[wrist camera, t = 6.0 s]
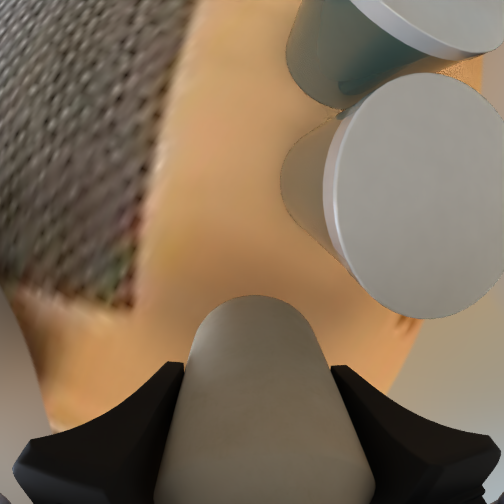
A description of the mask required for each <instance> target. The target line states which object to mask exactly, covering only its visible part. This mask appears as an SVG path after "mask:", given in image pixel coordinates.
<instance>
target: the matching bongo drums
mask: <svg viewBox="0 0 504 504" xmlns="http://www.w3.org/2000/svg"><path fill="white" fill-rule="evenodd" d="M503 41H504V0H302V1H301V4H300V7H299V9H298V12H297V15H296V18H295V21H294V23H293V26H292V29H291V32H290V35H289V38H288V41H287V45H286V61H287V65H288V68H289V71H290V73H291V75H292V77H293V79H294V80H295V82H296V83H297V84H298V85H299V87H300V88H301V89H302V90H303V91H304V92H305V93H306V94H308V95H309V96H310V97H312V98H313V99H315V100H316V101H318V102H320V103H322V104H324V105H326V106H330V107H333V108H337V109H344V111H342V112H341V113H339V114H337V115H336V116H334V117H333V118H331V119H329V120H328V121H326V122H325V123H323V124H321V125H320V126H318V127H317V128H315V129H314V130H312V131H310V132H309V133H307V134H306V135H304V136H303V137H302V138H300V139H299V140H298V141H297V142H296V143H295V144H294V145H293V146H292V148H291V149H290V150H289V152H288V154H287V156H286V158H285V160H284V163H283V166H282V170H281V176H280V188H281V195H282V198H283V202H284V204H285V207H286V209H287V211H288V212H289V214H290V216H291V217H292V218H293V220H294V221H295V222H296V223H297V224H298V225H299V226H300V227H301V228H302V229H303V230H304V231H305V232H307V233H308V234H309V235H310V236H311V237H312V238H313V239H314V240H315V241H316V242H318V243H319V244H320V245H321V246H322V247H323V248H324V249H325V250H326V251H327V252H328V253H329V254H330V255H332V256H333V257H334V258H335V259H336V260H337V261H338V262H339V263H340V264H341V265H342V266H343V267H344V268H345V269H346V270H347V271H348V272H349V274H350V275H351V276H352V277H353V278H354V279H355V280H356V282H357V283H358V284H359V285H360V286H361V287H362V288H363V289H364V290H365V291H366V292H367V293H368V294H369V295H370V296H371V297H373V298H374V299H375V300H376V301H378V302H379V303H380V304H381V305H383V306H384V307H386V308H388V309H389V310H391V311H393V312H395V313H398V314H401V315H403V316H406V317H411V318H417V319H436V318H442V317H446V316H450V315H453V314H456V313H458V312H460V311H462V310H464V309H466V308H468V307H469V306H471V305H472V304H474V303H475V302H477V301H478V300H479V299H480V298H482V296H484V295H485V294H486V293H487V292H488V291H489V290H490V289H491V288H492V287H493V286H494V284H495V283H496V282H497V281H498V279H499V278H500V277H501V275H502V273H503V272H504V121H503V119H502V118H501V117H500V116H499V114H498V113H497V111H496V110H495V109H494V108H493V106H492V105H491V104H490V103H489V102H488V101H487V100H486V99H485V98H484V97H483V96H482V95H481V94H479V93H478V92H477V91H476V90H474V89H473V88H471V87H470V86H468V85H467V84H465V83H463V82H461V81H459V80H457V79H454V78H452V77H449V76H445V75H441V74H436V73H437V72H439V71H441V70H443V69H446V68H448V67H450V66H452V65H455V64H457V63H459V62H462V61H464V60H470V59H473V58H475V57H478V56H480V55H483V54H485V53H488V52H490V51H493V50H495V49H496V48H498V47H499V46H500V45H501V44H502V43H503Z"/></svg>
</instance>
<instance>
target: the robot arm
mask: <svg viewBox="0 0 504 504" xmlns="http://www.w3.org/2000/svg"><path fill="white" fill-rule="evenodd" d="M330 371H331V374H332V376H333V378H334V381H335V383H336V385H337V388H338V390H339V393H340V395H341V397H342V400H343V402H344V405H345V407H346V409H347V412H348V414H349V417H350V419H351V421H352V424H353V426H354V429H355V431H356V434H357V436H358V439H359V441H360V444H361V446H362V448H363V451H364V453H365V456H366V458H367V461H368V463H369V466H370V469H371V471H372V474H373V476H374V479H375V487H376V488H375V492H374V496H373V498H372V500H371V502H370V503H369V504H487V503H486V502H485V500H484V499H483V497H482V495H483V494H484V493H485V489H484V488H483V486H482V484H483V483H484V481H485V480H486V479H487V478H488V476H489V475H490V474H491V472H492V471H493V470H494V468H495V467H496V465H497V463H498V461H499V459H500V456H501V450H500V449H499V448H498V446H497V445H496V444H495V443H494V441H493V440H492V439H491V438H490V436H488V435H482V434H476V433H470V432H465V431H461V430H457V429H453V428H450V427H446V426H443V425H440V424H438V423H435V422H433V421H430V420H427V419H425V418H423V417H421V416H419V415H417V414H415V413H413V412H411V411H409V410H407V409H406V408H404V407H402V406H401V405H399V404H397V403H396V402H394V401H393V400H391V399H390V398H388V397H387V396H385V395H384V394H383V393H381V392H380V391H378V390H377V389H376V388H375V387H373V386H372V385H371V384H369V383H368V382H367V381H366V380H364V379H363V378H362V377H361V376H359V375H358V374H357V373H356V372H355V371H353V370H352V369H351V368H349V367H348V366H347V365H337V366H331V369H330ZM183 376H184V363H180V362H169V361H168V362H166V363H165V364H164V365H163V366H162V367H161V368H160V369H159V370H158V371H157V372H156V373H155V374H154V375H153V376H152V377H151V378H150V379H149V380H148V381H147V382H146V383H145V384H144V385H142V386H141V387H140V388H139V389H138V390H137V391H136V392H134V393H133V394H132V395H131V396H129V397H128V398H127V399H126V400H124V401H123V402H122V403H120V404H119V405H118V406H116V407H115V408H113V409H111V410H110V411H108V412H106V413H105V414H103V415H101V416H99V417H97V418H95V419H93V420H91V421H89V422H87V423H85V424H83V425H80V426H78V427H75V428H72V429H70V430H67V431H64V432H61V433H57V434H53V435H49V436H45V437H40V438H36V439H31V440H30V441H29V442H28V444H27V445H26V447H25V448H24V450H23V451H22V453H21V454H20V456H19V457H18V459H17V460H16V462H15V464H14V466H13V468H12V470H13V474H14V477H15V478H16V480H17V482H18V483H19V485H20V486H21V488H22V489H23V490H24V492H25V493H26V494H27V496H28V497H29V498H30V499H31V501H32V502H33V503H34V504H154V500H153V497H154V490H155V485H156V481H157V477H158V473H159V468H160V464H161V460H162V456H163V452H164V448H165V444H166V440H167V436H168V432H169V429H170V425H171V421H172V417H173V413H174V409H175V406H176V402H177V398H178V394H179V391H180V387H181V383H182V379H183ZM0 504H11V503H10V501H9V500H8V499H7V498H6V497H5V496H3V495H2V494H1V493H0ZM491 504H504V492H503V493H502V495H501V496H500V497H499V499H498V500H496V501H494V502H493V503H491Z"/></svg>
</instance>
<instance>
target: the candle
mask: <svg viewBox="0 0 504 504" xmlns="http://www.w3.org/2000/svg"><path fill="white" fill-rule="evenodd" d="M375 488H376V487H375V479H374V476H373V474H372V471H371V469H370V466H369V463H368V461H367V458H366V456H365V453H364V451H363V448H362V446H361V444H360V441H359V439H358V436H357V434H356V431H355V429H354V426H353V424H352V421H351V419H350V417H349V414H348V412H347V409H346V407H345V405H344V402H343V400H342V397H341V395H340V393H339V390H338V388H337V385H336V383H335V381H334V378H333V376H332V374H331V371H330V369H329V367H328V364H327V362H326V360H325V357H324V355H323V353H322V350H321V348H320V346H319V343H318V341H317V339H316V336H315V334H314V332H313V330H312V328H311V326H310V325H309V323H308V321H307V320H306V319H305V318H304V316H303V315H302V314H301V313H300V312H299V311H298V310H296V309H295V308H294V307H293V306H291V305H290V304H288V303H286V302H284V301H282V300H279V299H276V298H273V297H268V296H260V295H249V296H242V297H238V298H234V299H232V300H229V301H227V302H224V303H223V304H221V305H219V306H218V307H216V308H215V309H214V310H212V311H211V312H210V313H209V314H208V315H207V316H206V318H205V319H204V320H203V322H202V323H201V324H200V326H199V328H198V330H197V332H196V335H195V338H194V341H193V344H192V347H191V350H190V354H189V358H188V361H187V365H186V368H185V372H184V376H183V379H182V383H181V387H180V391H179V394H178V398H177V402H176V406H175V409H174V413H173V417H172V421H171V425H170V429H169V432H168V436H167V440H166V444H165V448H164V452H163V456H162V460H161V464H160V468H159V473H158V477H157V481H156V485H155V490H154V497H153V500H154V504H369V503H370V502H371V500H372V498H373V496H374V492H375Z"/></svg>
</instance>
